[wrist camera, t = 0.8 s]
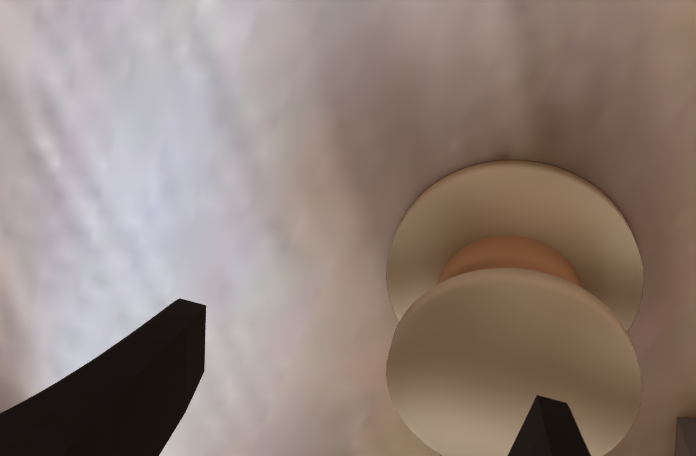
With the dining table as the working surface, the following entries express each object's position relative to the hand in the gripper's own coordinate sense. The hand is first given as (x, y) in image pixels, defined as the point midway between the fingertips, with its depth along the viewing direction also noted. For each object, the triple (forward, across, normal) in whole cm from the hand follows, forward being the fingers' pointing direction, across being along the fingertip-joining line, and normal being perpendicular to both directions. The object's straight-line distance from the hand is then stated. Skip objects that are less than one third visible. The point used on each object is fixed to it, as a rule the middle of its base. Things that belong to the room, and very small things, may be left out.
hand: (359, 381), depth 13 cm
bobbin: (+10, -4, +3) cm, 12 cm away
